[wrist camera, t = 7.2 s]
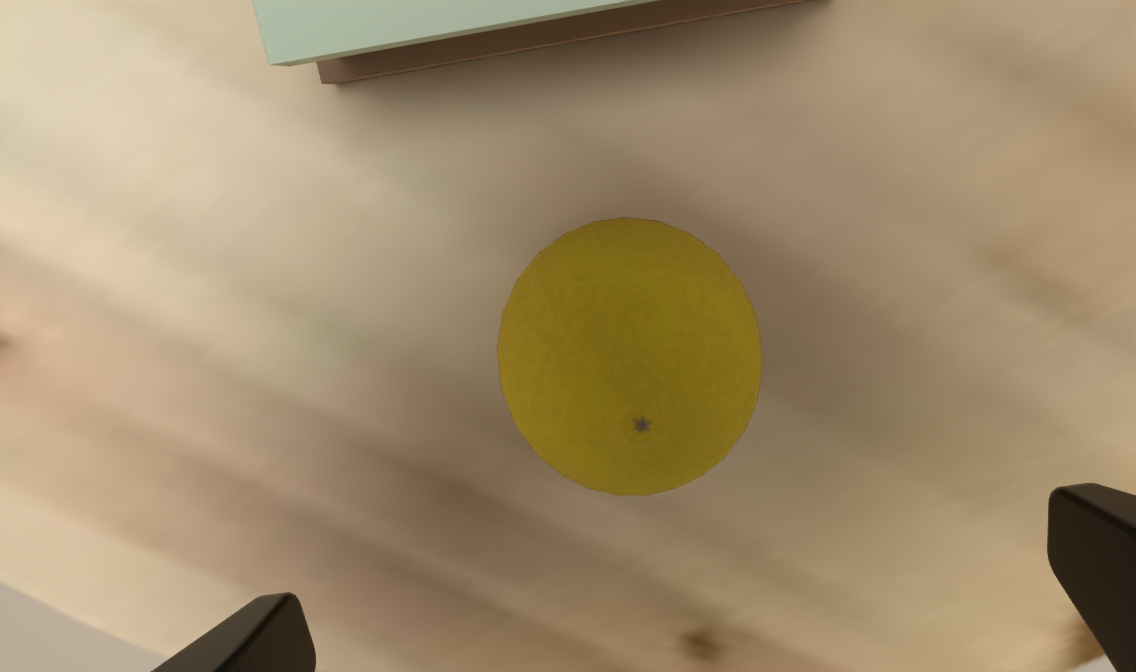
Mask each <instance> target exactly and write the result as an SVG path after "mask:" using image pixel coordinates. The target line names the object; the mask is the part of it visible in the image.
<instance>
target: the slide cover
mask: <svg viewBox="0 0 1136 672" xmlns="http://www.w3.org/2000/svg"><path fill="white" fill-rule="evenodd" d="M653 1H659V0H252V3H253V6H254V10H255V14H256V18H257V21H258V25H259V29H260V33H261V36H262V40H263V44H264V48H265V51H266V55H267V59H268V63H269V65H278V66H294V65H300V64H305V63H311V62H317V61H322V60H328V59H333V58H339V57H345V56H350V55H356V54H361V53H367V52H373V51H378V50H384V49H389V48H395V47H401V46H406V45H412V44H418V43H423V42H429V41H434V40H440V39H446V38H451V37H457V36H462V35H468V34H474V33H479V32H485V31H490V30H496V29H502V28H507V27H513V26H518V25H524V24H530V23H535V22H541V21H546V20H552V19H558V18H563V17H569V16H574V15H580V14H586V13H591V12H597V11H602V10H608V9H614V8H619V7H625V6H631V5H636V4H642V3H647V2H653Z"/></svg>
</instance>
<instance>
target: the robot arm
mask: <svg viewBox="0 0 1136 672" xmlns="http://www.w3.org/2000/svg"><path fill="white" fill-rule="evenodd" d="M1047 554H1048V559H1049V563H1050V566H1051V568H1052V570H1053V572H1054V574H1055V576H1056V578H1057V579H1058V581H1059V582H1060V584H1061V585H1062V587H1063V589H1064V590H1065V592H1066V593H1067V595H1068V596H1069V598H1070V599H1071V601H1072V603H1073V604H1074V606H1075V607H1076V609H1077V610H1078V612H1079V614H1080V615H1081V617H1082V618H1083V620H1084V621H1085V623H1086V624H1087V626H1088V628H1089V629H1090V631H1091V632H1092V634H1093V635H1094V637H1095V639H1096V640H1097V642H1098V643H1099V645H1100V646H1101V648H1102V649H1103V651H1104V653H1105V654H1106V656H1107V657H1108V659H1109V660H1110V662H1111V663H1112V665H1113V667H1114V668H1115V669H1116V671H1117V672H1136V495H1133V494H1129V493H1126V492H1123V491H1119V490H1116V489H1113V488H1109V487H1106V486H1102V485H1099V484H1095V483H1083V484H1076V485H1069V486H1062V487H1058V488H1056V489H1055V490H1053V491H1052V492H1051V494H1050V497H1049V503H1048V539H1047ZM315 667H316V654H315V648H314V644H313V641H312V638H311V635H310V632H309V629H308V626H307V622H306V619H305V616H304V613H303V610H302V607H301V604H300V602H299V599H298V598H297V597H296V595H294V594H292V593H290V592H286V593H278V594H271V595H264V596H260V597H257V598H256V599H254V600H253V601H251V602H250V603H248V604H247V605H246V606H244V607H243V608H241V609H240V610H238V611H237V612H236V613H234V614H233V615H231V616H230V617H228V618H227V619H226V620H224V621H223V622H221V623H220V624H218V625H217V626H216V627H214V628H213V629H211V630H210V631H208V632H207V633H206V634H204V635H203V636H201V637H200V638H198V639H197V640H196V641H194V642H193V643H191V644H190V645H188V646H187V647H186V648H184V649H183V650H181V651H180V652H178V653H177V654H175V655H174V656H173V657H171V658H170V659H168V660H167V661H165V662H164V663H163V664H161V665H160V666H158V667H157V668H155V669H154V670H153V671H151V672H315Z"/></svg>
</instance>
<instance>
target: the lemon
mask: <svg viewBox="0 0 1136 672" xmlns="http://www.w3.org/2000/svg"><path fill="white" fill-rule="evenodd" d="M497 353H498V363H499V373H500V382H501V388H502V392H503V394H504V397H505V399H506V402H507V404H508V407H509V410H510V412H511V415H512V417H513V420H514V422H515V424H516V426H517V428H518V429H519V431H520V432H521V433H522V435H523V436H524V437H525V439H526V440H527V442H528V443H529V444H530V446H531V447H532V448H533V450H534V451H535V452H536V454H537V455H538V456H539V457H540V458H542V459H543V460H544V461H545V462H547V463H548V464H549V465H550V466H551V467H553V468H554V469H555V470H556V471H557V472H559V473H560V474H561V475H562V476H564V477H566V478H568V479H570V480H572V481H574V482H576V483H578V484H580V485H582V486H585V487H587V488H589V489H592V490H596V491H601V492H606V493H610V494H615V495H650V494H655V493H659V492H663V491H667V490H672V489H676V488H678V487H680V486H682V485H684V484H686V483H688V482H690V481H692V480H694V479H696V478H698V477H700V476H702V475H704V474H705V473H706V472H707V471H709V470H710V469H711V468H712V467H714V466H715V465H716V464H717V463H718V462H720V461H721V460H722V459H723V458H725V457H726V455H727V454H728V453H729V451H730V450H731V449H732V447H733V446H734V445H735V443H736V442H737V441H738V439H739V438H740V437H741V435H742V434H743V432H744V431H745V429H746V427H747V424H748V422H749V419H750V417H751V415H752V412H753V410H754V407H755V405H756V403H757V399H758V394H759V387H760V379H761V372H762V363H763V357H762V350H761V342H760V335H759V328H758V321H757V318H756V315H755V313H754V310H753V308H752V306H751V303H750V301H749V299H748V297H747V294H746V292H745V290H744V287H743V285H742V284H741V282H740V281H739V279H738V278H737V277H736V276H735V274H734V273H733V272H732V271H731V269H730V268H729V267H728V266H727V264H726V263H725V262H724V261H723V259H722V258H721V257H720V256H719V255H718V254H717V253H716V252H715V251H713V250H712V249H711V248H709V247H708V246H706V245H705V244H704V243H702V242H701V241H700V240H698V239H697V238H696V237H694V236H693V235H691V234H690V233H688V232H685V231H682V230H680V229H677V228H674V227H672V226H669V225H667V224H664V223H661V222H659V221H652V220H644V219H635V218H618V219H611V220H604V221H596V222H592V223H590V224H588V225H585V226H583V227H580V228H578V229H575V230H573V231H571V232H568V233H566V234H564V235H563V236H561V237H560V238H559V239H557V240H556V241H554V242H553V243H552V244H550V245H549V246H548V247H546V248H545V249H544V250H542V251H541V252H540V253H539V254H538V255H537V256H536V257H535V258H534V260H533V261H532V262H531V263H530V265H529V266H528V267H527V268H526V270H525V271H524V272H523V273H522V275H521V276H520V277H519V278H518V279H517V282H516V284H515V286H514V288H513V291H512V293H511V295H510V297H509V300H508V302H507V304H506V307H505V309H504V311H503V315H502V321H501V328H500V334H499V340H498V347H497Z"/></svg>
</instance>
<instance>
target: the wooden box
mask: <svg viewBox="0 0 1136 672" xmlns="http://www.w3.org/2000/svg"><path fill="white" fill-rule="evenodd" d="M804 1H809V0H659V1H653V2H647V3H642V4H636V5H631V6H625V7H619V8H614V9H608V10H602V11H597V12H591V13H586V14H580V15H574V16H569V17H563V18H558V19H552V20H546V21H541V22H535V23H530V24H524V25H518V26H513V27H507V28H502V29H496V30H490V31H485V32H479V33H474V34H468V35H462V36H457V37H451V38H446V39H440V40H434V41H429V42H423V43H418V44H412V45H406V46H401V47H395V48H389V49H384V50H378V51H373V52H367V53H361V54H356V55H350V56H345V57H339V58H333V59H328V60H322V61H317V66H318V70H319V74H320V78H321V82H322V84H338V83H344V82H350V81H355V80H361V79H367V78H372V77H378V76H384V75H389V74H395V73H401V72H407V71H412V70H418V69H424V68H429V67H435V66H441V65H446V64H452V63H458V62H463V61H469V60H475V59H480V58H486V57H492V56H497V55H503V54H509V53H514V52H520V51H526V50H531V49H537V48H543V47H548V46H554V45H560V44H565V43H571V42H577V41H582V40H588V39H594V38H599V37H605V36H611V35H616V34H622V33H628V32H633V31H639V30H645V29H650V28H656V27H662V26H667V25H673V24H679V23H684V22H690V21H696V20H701V19H707V18H713V17H719V16H724V15H730V14H736V13H741V12H747V11H753V10H758V9H764V8H770V7H775V6H781V5H787V4H792V3H798V2H804Z"/></svg>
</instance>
